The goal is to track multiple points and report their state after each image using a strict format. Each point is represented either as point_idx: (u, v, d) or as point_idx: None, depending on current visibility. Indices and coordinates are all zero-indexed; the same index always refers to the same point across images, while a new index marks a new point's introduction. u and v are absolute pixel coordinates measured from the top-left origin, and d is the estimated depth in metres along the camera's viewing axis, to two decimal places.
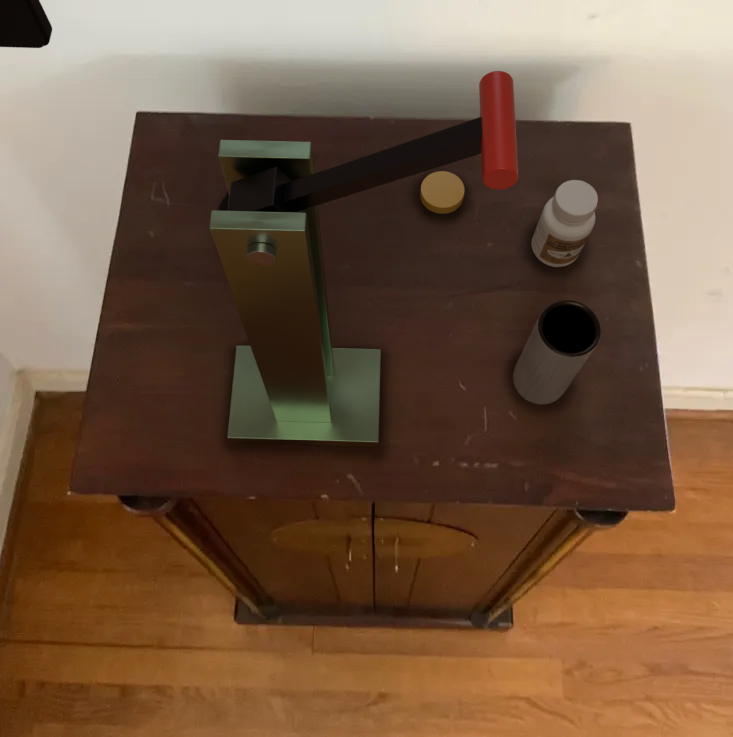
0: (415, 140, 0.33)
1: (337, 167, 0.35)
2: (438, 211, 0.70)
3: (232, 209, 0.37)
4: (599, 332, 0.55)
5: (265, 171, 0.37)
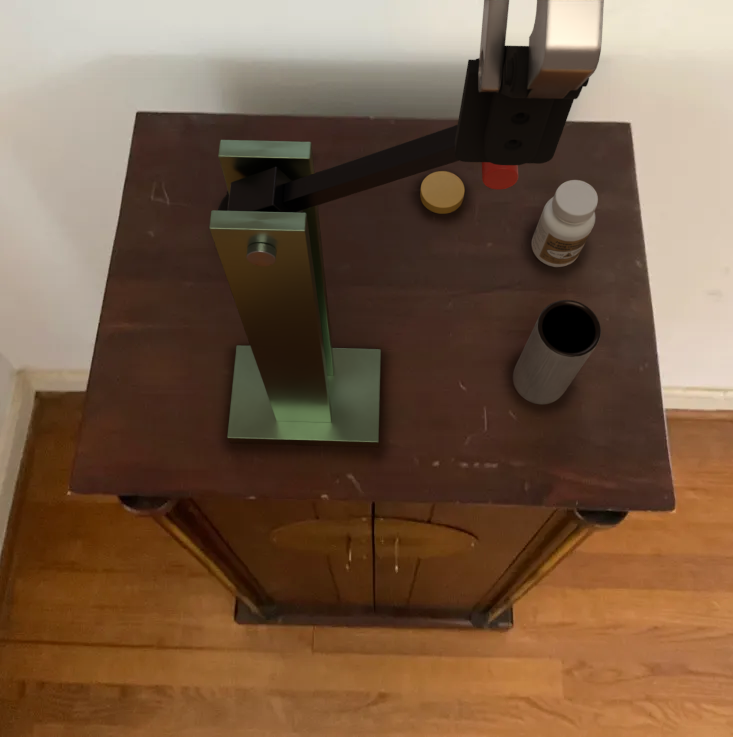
0: (415, 140, 0.33)
1: (337, 167, 0.35)
2: (438, 211, 0.70)
3: (232, 209, 0.37)
4: (599, 332, 0.55)
5: (265, 171, 0.37)
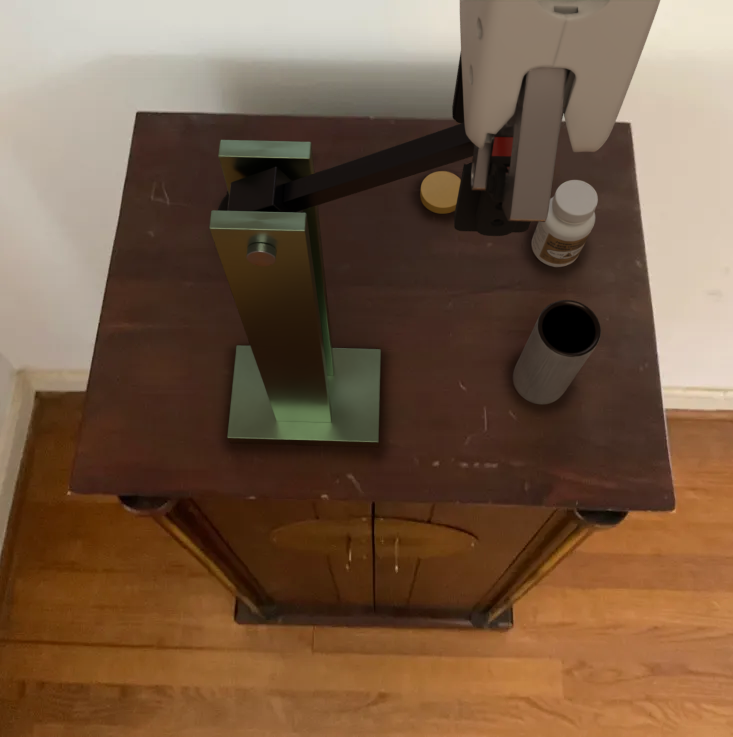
0: (415, 140, 0.33)
1: (337, 167, 0.35)
2: (438, 211, 0.70)
3: (232, 209, 0.37)
4: (599, 332, 0.55)
5: (265, 171, 0.37)
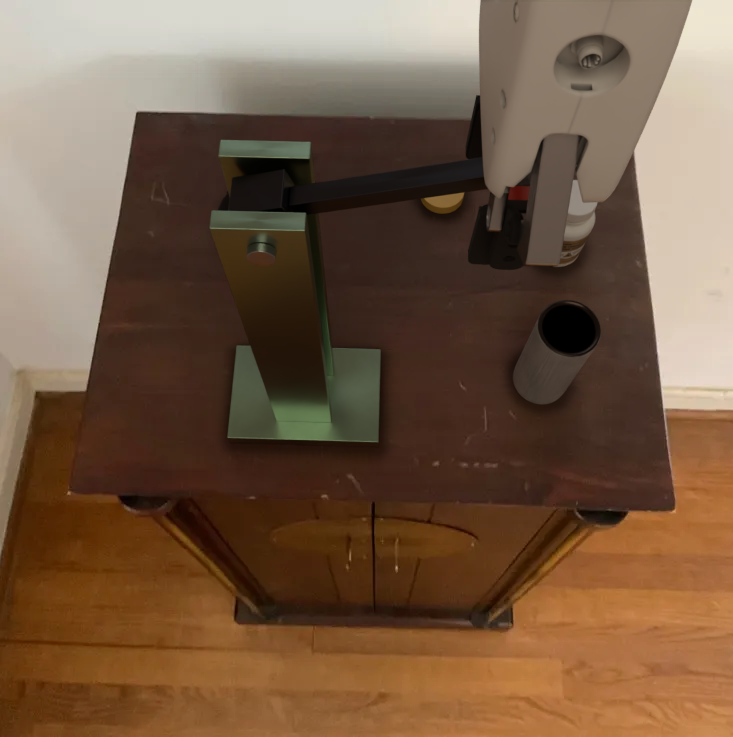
0: (433, 166, 0.35)
1: (349, 179, 0.36)
2: (438, 211, 0.70)
3: (234, 205, 0.37)
4: (599, 332, 0.55)
5: (272, 172, 0.37)
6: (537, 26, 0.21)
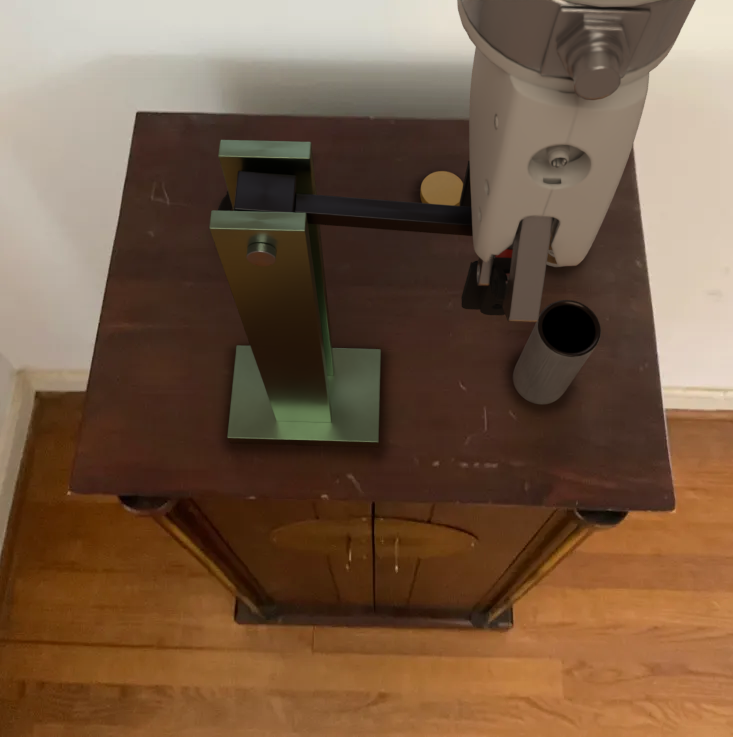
0: (437, 205, 0.38)
1: (356, 199, 0.38)
2: None
3: (242, 200, 0.36)
4: (599, 332, 0.55)
5: (283, 175, 0.37)
6: (513, 136, 0.26)
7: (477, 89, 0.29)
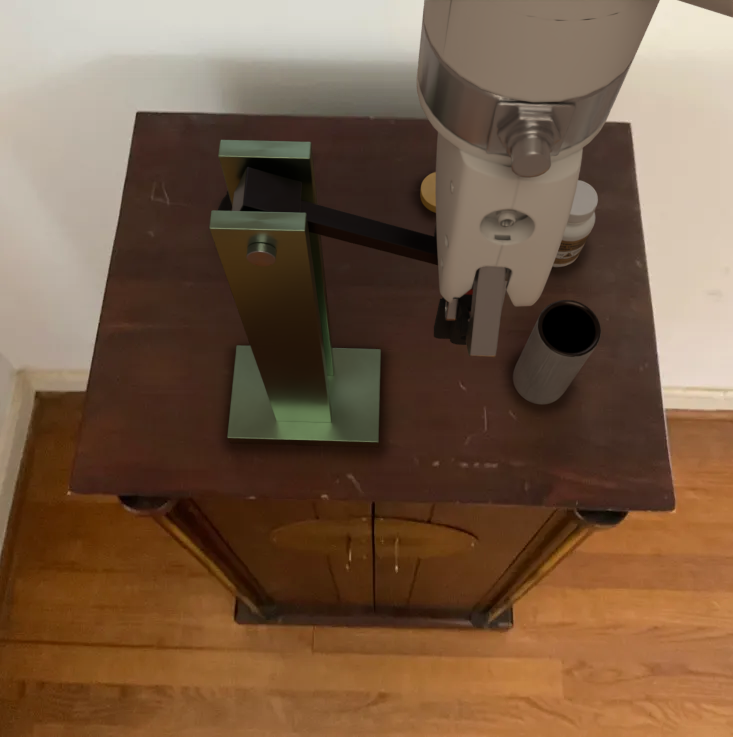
0: (423, 234, 0.40)
1: (353, 216, 0.39)
2: None
3: (251, 197, 0.36)
4: (599, 332, 0.55)
5: (290, 180, 0.37)
6: (465, 202, 0.29)
7: (439, 152, 0.33)
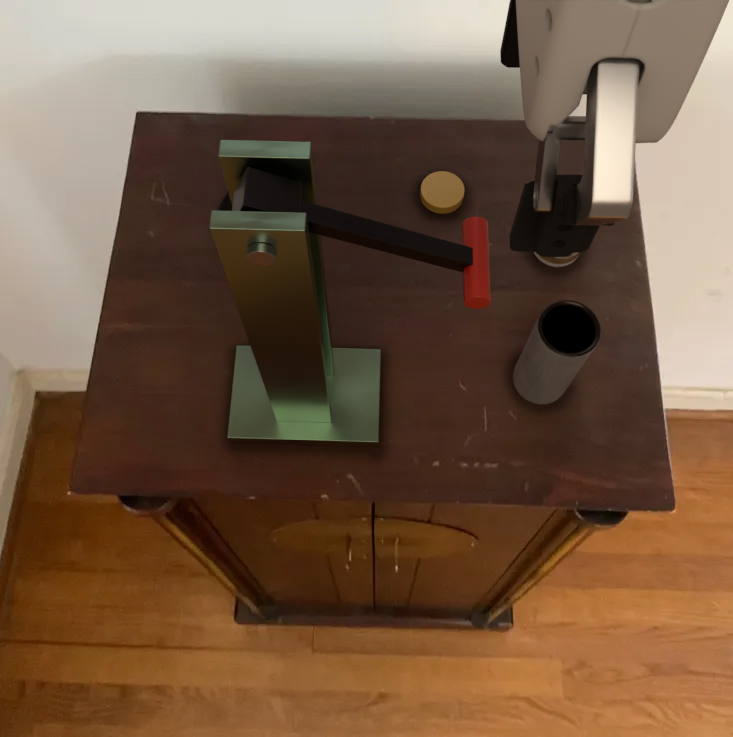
0: (422, 235, 0.41)
1: (353, 216, 0.39)
2: (438, 211, 0.70)
3: (251, 197, 0.36)
4: (599, 332, 0.55)
5: (290, 180, 0.37)
6: None
7: None
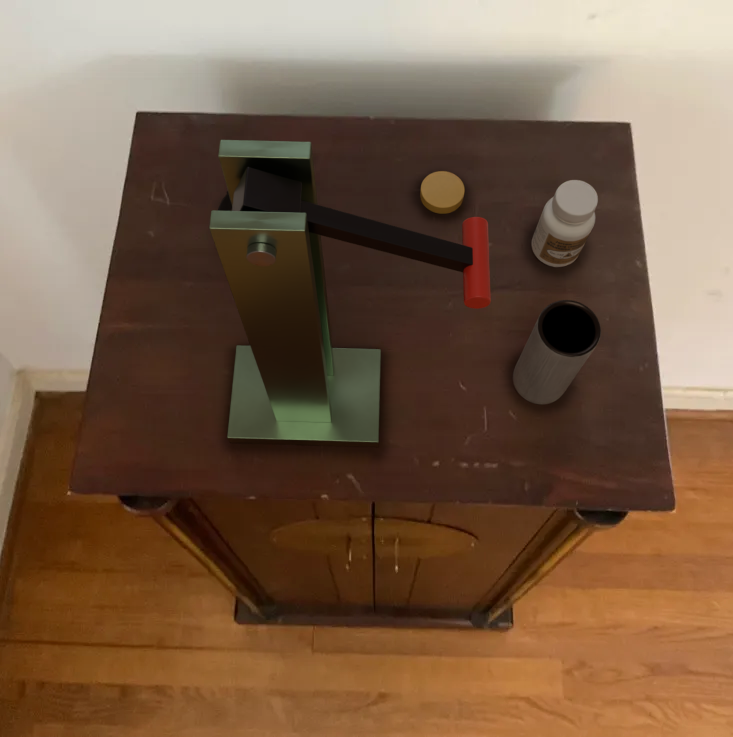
0: (422, 235, 0.41)
1: (353, 216, 0.39)
2: (438, 211, 0.70)
3: (251, 197, 0.36)
4: (599, 332, 0.55)
5: (290, 180, 0.37)
6: None
7: None
